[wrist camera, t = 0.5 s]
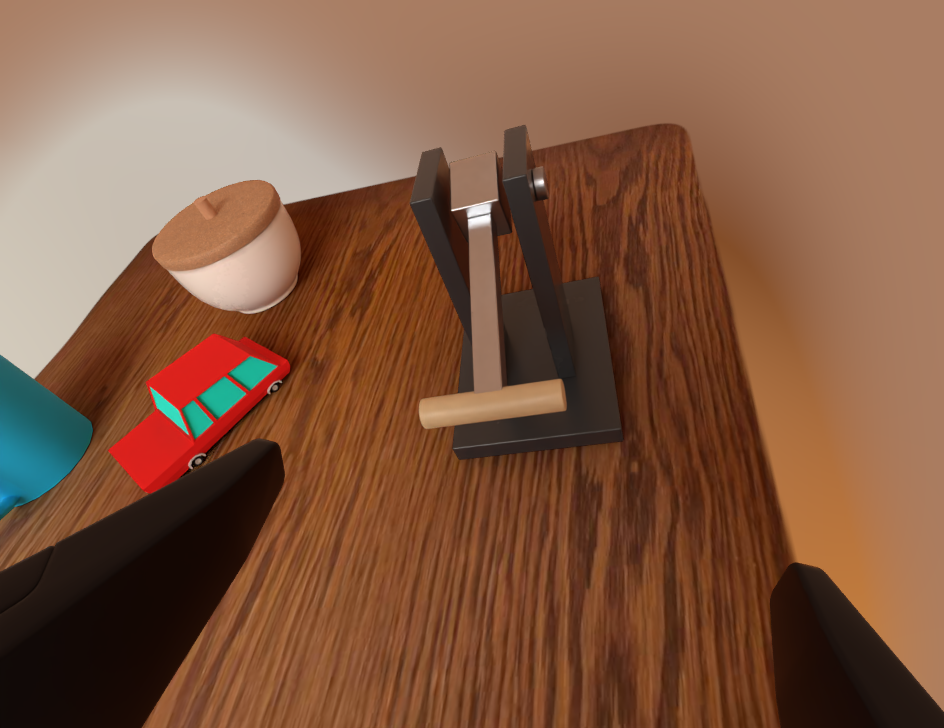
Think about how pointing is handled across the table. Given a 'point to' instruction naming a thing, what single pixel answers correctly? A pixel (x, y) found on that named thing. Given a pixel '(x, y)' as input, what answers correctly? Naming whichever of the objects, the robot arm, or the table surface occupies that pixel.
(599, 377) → the bracket
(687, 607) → the table surface
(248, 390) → the toy car
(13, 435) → the mug
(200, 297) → the trinket box
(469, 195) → the lever
